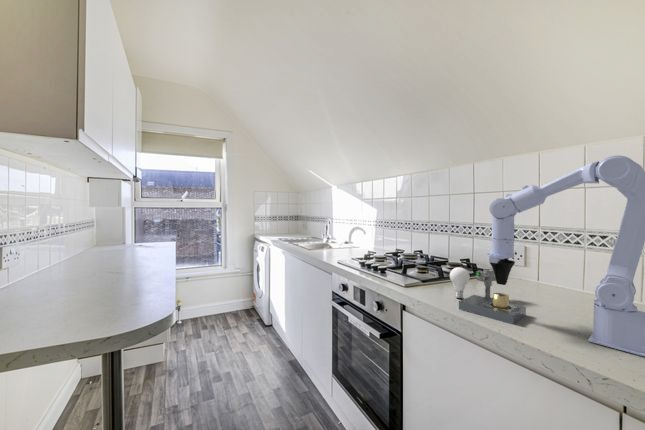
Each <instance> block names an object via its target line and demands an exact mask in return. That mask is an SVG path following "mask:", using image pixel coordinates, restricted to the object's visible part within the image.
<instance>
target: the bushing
mask: <svg viewBox="0 0 645 430" xmlns="http://www.w3.org/2000/svg"><path fill="white" fill-rule="evenodd" d="M492 294H493V296H492V297H493V298H492V299H493V307H495V308H499V309H509V303H510V302H509V301H510V295H508V294H507V293H506V294H505V293H503V292H493V293H492Z"/></svg>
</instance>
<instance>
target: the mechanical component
mask: <svg viewBox="0 0 645 430" xmlns="http://www.w3.org/2000/svg"><path fill="white" fill-rule="evenodd" d="M475 279H476V280H477V281H479V282H483V285H484V297H486V298H490V299H491V286H493V282H496V278H495V274H494V270H493V268H484V269H483V271H482V270H476V271H475Z"/></svg>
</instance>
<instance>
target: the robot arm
mask: <svg viewBox="0 0 645 430" xmlns="http://www.w3.org/2000/svg"><path fill="white" fill-rule="evenodd" d="M600 181H602V182H604V184H605V183H606V184H607V185H610V186H611V187H614V188H615V189H616V190H617V191H618V192H620V193H621V194H622V195H623V196H624V197H625V198H626V199H627V200H626V201H627V202H626V204H625V207H624V211H623V213H622V214H623V215H622V219H621V222H620V226H619V229H618V232H617V236H616V239H615V242H614V245H613V246H614V247H613V250H612V253H611V257H610V260H609V264H608V266H607V270H606V272H605V276H604V277H603V278H602V279H601V280H600V281H599V283H598V284H597V286H596V287H595V290H594V295H595V297H596V299H595V300H593V301H594V302H593V321H592V322H593V326H592V333H591V335H590V336H589V338H588V342H590V343H594V344H596V345H601V346H605V347H608V348H612V349H615V350H619V351H622V352H626V353H629V354H630V353H631V354H633V355H637V356H641V357H643V358H644V357H645V312H644V311H641V310H639V309H638V305H635V304H634V301H635V295H636V294H637V293H636V287H635V283H634V279H635V275H636V272H637V268H638V265H639V262H640V259H641V255H642V253H643V249H644V246H645V169H644V168H643V166H642V165H640V164H639V163H637V161H635V160H633V159H632V158H630V157H628V156H625V155H619V154H618V155H616V154H615V155H611V156H608V157H606V158H603V159H602V160H601V161H599V160H597V161H595V162H591V163H589V164H586V165H583V166H582V167H579V168H578V169H575V170H573V171H571V172H569V173H568V172H567V173H566V174H564V175H563V176H560V177H558V178H556V179H554V180H551V181H550V182H547V183H546V184H543V185H540V186H538V185H534V184H532V185H530V186H529V185H524V186H522V187H521V190H517V191H516V192H514V193H512V194H509V193H508V194H505V195H504V198H502V197H501V198H499V197H498V198H496V199H495V200H493V201H492V202H491V204H490V205H489V212H490V214H491V216H492V217H491V219H492V220H491V245H490V247H491V248H490V249H491V250H490V251H487V252H486V255H487V256H488V263H489V265H490V266H491V269H493V270H494V274H495V278H496V281H495V282H496V284H497V285H502V286H506V285H507V283H508V280H509V276H510V272H511V271H512V268H513V266H514V265H515V263H516V262H515V261H516V260H511V259H515V217H516V215H517V214H521V213H523V212H525V211H528V210H530V209H532V208H536V207H538V206H540V205H542V204H544V203H545V201H546V200H547V198H548V197H549V196H553V195H556V194H558V193H560V192H563V191H566V190H568V189H571V188H574V187H577V186H580V185H582V184H600ZM509 259H510V260H509Z"/></svg>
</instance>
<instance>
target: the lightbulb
mask: <svg viewBox="0 0 645 430" xmlns="http://www.w3.org/2000/svg"><path fill="white" fill-rule="evenodd" d="M470 278H471V276H470V273H469V271H468V270H467V269H466V268H463V267H461V266H459V267H457V266H456V267H454V268H453V269H451V270H450V272H449V279H450V281H451V283H452V284H453V288H454V297H456V298H457V299H461V300H462V298H463V299H464V290H465V289H466V288H465V287H466V285H468V283H469V281H470Z"/></svg>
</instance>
